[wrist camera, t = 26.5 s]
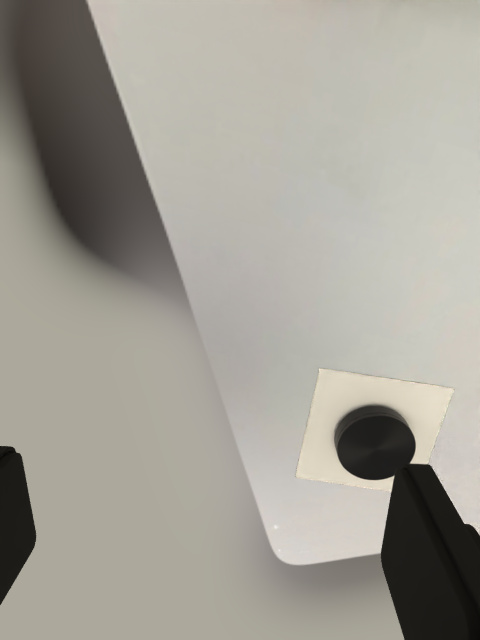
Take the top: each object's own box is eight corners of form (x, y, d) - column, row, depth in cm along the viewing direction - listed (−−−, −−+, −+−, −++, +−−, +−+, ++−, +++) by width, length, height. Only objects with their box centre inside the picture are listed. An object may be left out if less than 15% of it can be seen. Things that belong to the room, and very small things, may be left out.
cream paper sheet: (294, 477, 42) (295, 488, 40) (319, 368, 38) (322, 375, 36) (416, 495, 42) (421, 507, 40) (454, 388, 38) (461, 397, 36)
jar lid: (424, 443, 39) (431, 455, 38) (362, 480, 41) (366, 493, 39) (382, 391, 38) (387, 401, 36) (319, 432, 39) (321, 443, 38)
